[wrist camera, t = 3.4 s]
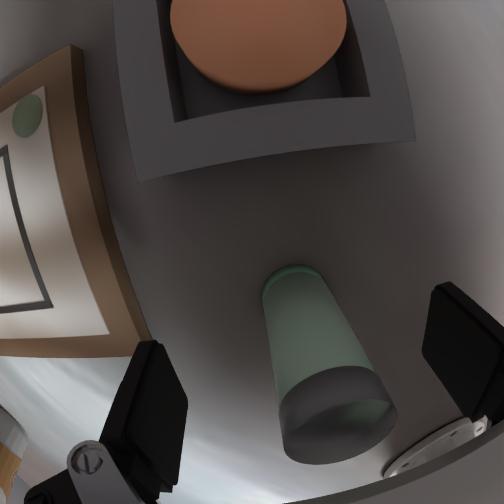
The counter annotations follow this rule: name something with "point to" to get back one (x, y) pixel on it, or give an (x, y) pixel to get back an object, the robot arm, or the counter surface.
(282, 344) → the sage green marker
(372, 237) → the counter surface
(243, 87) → the button
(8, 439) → the coffee cup
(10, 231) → the drawing board
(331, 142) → the button housing
